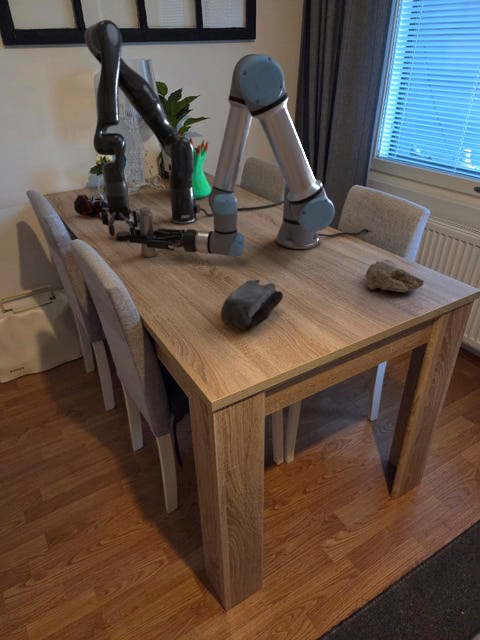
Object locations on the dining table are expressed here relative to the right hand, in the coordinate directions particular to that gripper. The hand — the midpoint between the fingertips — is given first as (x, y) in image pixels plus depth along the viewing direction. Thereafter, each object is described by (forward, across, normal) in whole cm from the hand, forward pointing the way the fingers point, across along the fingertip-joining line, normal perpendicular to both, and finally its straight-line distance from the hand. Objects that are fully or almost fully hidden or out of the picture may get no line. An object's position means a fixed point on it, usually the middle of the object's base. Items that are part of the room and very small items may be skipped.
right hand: (132, 235), depth 153 cm
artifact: (-85, -6, -6) cm, 86 cm away
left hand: (+10, +12, -6) cm, 17 cm away
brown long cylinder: (-5, 0, -6) cm, 8 cm away
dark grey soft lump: (-49, -34, -6) cm, 59 cm away
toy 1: (+34, +33, -6) cm, 47 cm away
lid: (+10, +12, -5) cm, 17 cm away
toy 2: (+3, +72, -6) cm, 73 cm away
